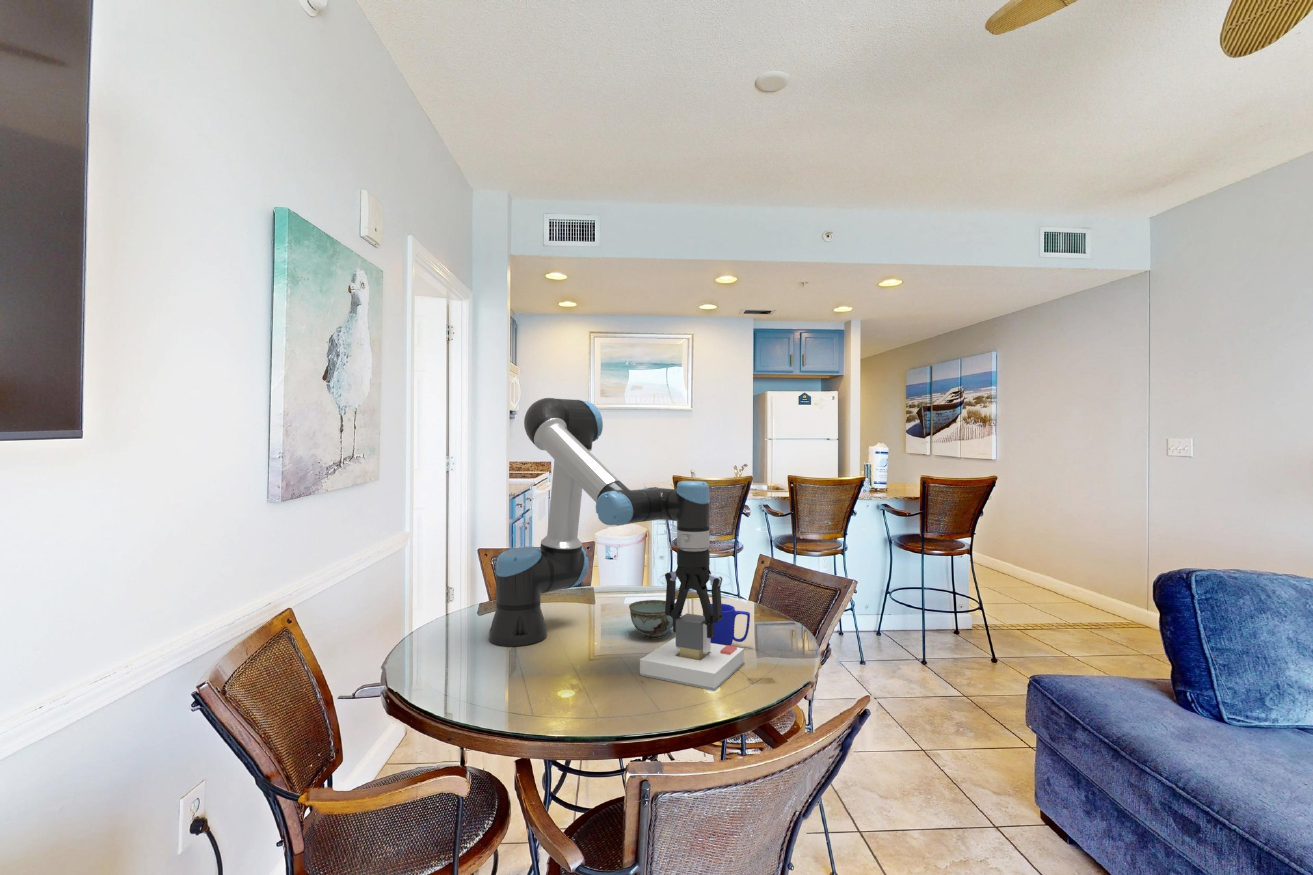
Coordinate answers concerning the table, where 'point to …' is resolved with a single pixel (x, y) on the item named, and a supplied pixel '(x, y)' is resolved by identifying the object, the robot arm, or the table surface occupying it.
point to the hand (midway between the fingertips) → (693, 649)
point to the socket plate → (692, 665)
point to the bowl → (651, 618)
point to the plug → (690, 636)
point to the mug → (728, 626)
